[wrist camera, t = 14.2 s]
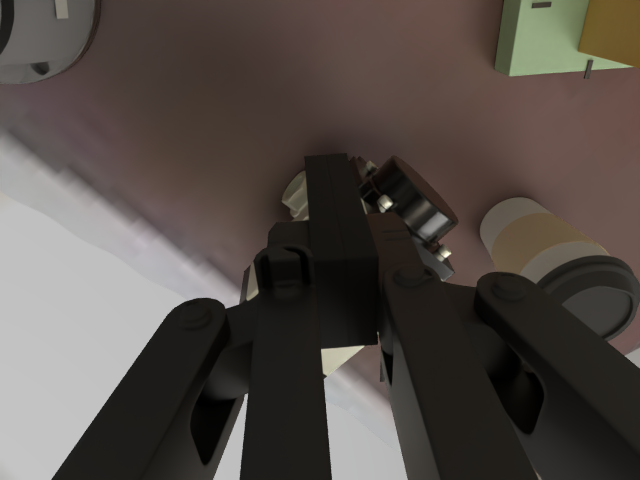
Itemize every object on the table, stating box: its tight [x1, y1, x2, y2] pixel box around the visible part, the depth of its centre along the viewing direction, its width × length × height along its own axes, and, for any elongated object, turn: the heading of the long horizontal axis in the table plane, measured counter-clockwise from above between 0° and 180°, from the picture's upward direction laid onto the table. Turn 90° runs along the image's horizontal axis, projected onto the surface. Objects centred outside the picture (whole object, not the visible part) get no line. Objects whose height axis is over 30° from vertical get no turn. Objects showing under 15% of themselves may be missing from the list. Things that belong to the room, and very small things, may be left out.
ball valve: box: [239, 156, 459, 378], centre depth 35 cm, size 18×8×18 cm, turn 139°
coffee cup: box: [480, 197, 640, 342], centre depth 40 cm, size 9×9×15 cm
